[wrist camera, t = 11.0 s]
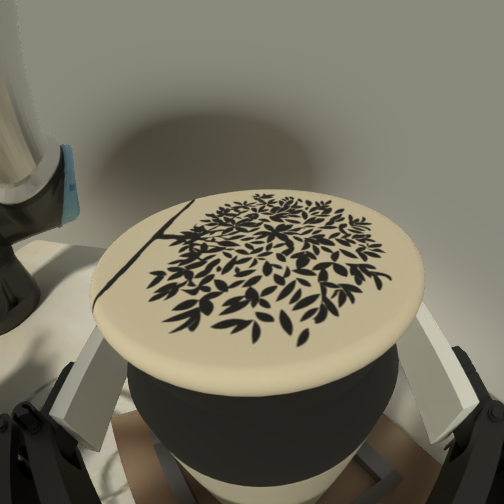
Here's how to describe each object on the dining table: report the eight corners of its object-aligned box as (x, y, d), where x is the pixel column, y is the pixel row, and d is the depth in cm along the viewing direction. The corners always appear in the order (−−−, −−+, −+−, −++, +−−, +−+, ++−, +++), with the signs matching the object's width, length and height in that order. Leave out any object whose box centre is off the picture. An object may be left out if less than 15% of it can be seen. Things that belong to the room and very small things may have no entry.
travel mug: (336, 438, 17) (406, 196, 8) (310, 532, 11) (478, 433, 2) (236, 418, 20) (190, 183, 11) (195, 501, 13) (15, 306, 4)
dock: (114, 423, 20) (105, 412, 19) (304, 346, 27) (305, 333, 27) (208, 621, 4) (201, 626, 3) (447, 479, 12) (459, 470, 11)
